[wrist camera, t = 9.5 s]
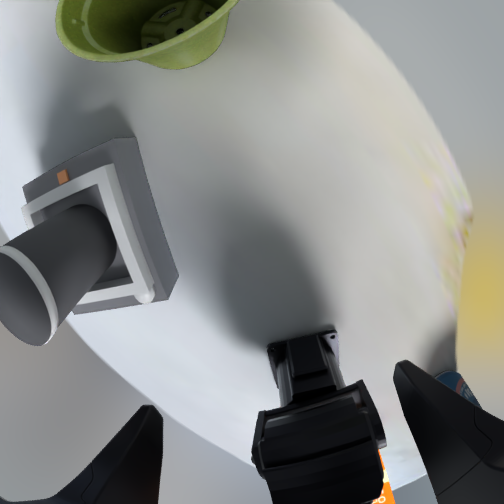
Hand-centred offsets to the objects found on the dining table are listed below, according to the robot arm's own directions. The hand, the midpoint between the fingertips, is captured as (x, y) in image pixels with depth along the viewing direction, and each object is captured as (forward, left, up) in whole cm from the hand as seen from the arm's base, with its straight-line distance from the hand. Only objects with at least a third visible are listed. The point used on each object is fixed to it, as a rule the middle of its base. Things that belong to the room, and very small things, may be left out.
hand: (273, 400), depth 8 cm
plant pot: (+17, +1, -13) cm, 22 cm away
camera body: (+5, +11, -13) cm, 18 cm away
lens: (+5, +11, -10) cm, 15 cm away
